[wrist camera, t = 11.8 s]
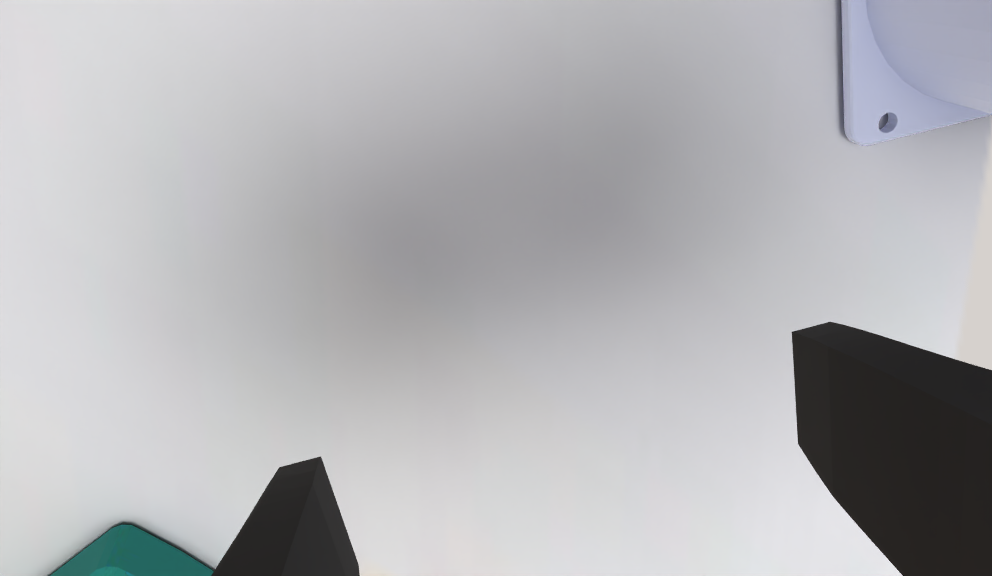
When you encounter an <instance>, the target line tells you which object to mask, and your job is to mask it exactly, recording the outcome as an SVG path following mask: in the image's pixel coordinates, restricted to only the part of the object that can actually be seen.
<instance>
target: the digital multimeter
mask: <svg viewBox="0 0 992 576" xmlns="http://www.w3.org/2000/svg"><path fill="white" fill-rule="evenodd" d="M213 572H214V571H212V570H211V569H209V568H208V567H206V566H205V565H203V564H201V563H200V562H198V561H197V560H195V559H193V558H192V557H190V556H189V555H187V554H185V553H184V552H182V551H181V550H179V549H177V548H175V547H173V546H171V545H169V544H167V543H165V542H164V541H162V540H160V539H158V538H156V537H154V536H152V535H150V534H148V533H146V532H145V531H143V530H141V529H139V528H137V527H135V526H133V525H119V526H116V527H114V528H112V529H110V530H109V531H108V532H106V533H105V534H104V535H102V536H101V537H100V538H99V539H97V540H96V541H95V542H93V543H92V544H91V545H89V546H88V547H87V548H85V549H84V550H83V551H82V552H80V553H79V554H78V555H76V556H75V557H74V558H72V559H71V560H70V561H69V562H67V563H66V564H65V565H63V566H62V567H61V568H59V569H58V570H57V571H55V572H54V573H53V574H52V575H50V576H211V575H212V573H213Z"/></svg>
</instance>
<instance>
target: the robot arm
mask: <svg viewBox="0 0 992 576" xmlns="http://www.w3.org/2000/svg"><path fill="white" fill-rule="evenodd" d="M841 4H842V47H843V89H844V129H845V134H846V136H847V138H848V139H849V140H850V141H852V142H854V143H856V144H859V145H862V146H869V145H873V144H877V143H881V142H885V141H889V140H893V139H897V138H901V137H905V136H909V135H913V134H917V133H921V132H925V131H929V130H933V129H937V128H942V127H946V126H950V125H954V124H958V123H962V122H966V121H970V120H974V119H978V118H982V117H986V116H990V115H992V0H841ZM886 113H887V114H888V117H889V118H888V122H887V124H886V125H885V126H884V127H883V128H881V129H879V126H878V125H879V120H880V119H881V117H882V116H883V115H884V114H886ZM792 343H793V360H794V378H795V396H796V414H797V432H798V444H799V446H800V447H801V449H802V451H803V452H804V454H805V455H806V457H807V458H808V460H809V461H810V463H811V465H812V466H813V468H814V469H815V471H816V472H817V474H818V475H819V477H820V478H821V480H822V481H823V483H824V484H825V485H826V487H827V488H828V490H829V491H830V493H831V494H832V496H833V497H834V498H835V499H836V501H837V502H838V503H839V504H840V505H841V506H842V508H843V509H844V510H845V511H846V512H847V513H848V514H849V516H850V517H851V518H852V519H853V520H854V521H855V522H856V524H857V525H858V526H859V527H860V528H861V529H862V530H863V532H864V533H865V534H866V535H867V536H868V537H869V538H870V539H871V541H872V542H873V543H874V544H875V545H876V546H877V547H878V548H879V550H880V551H881V552H882V553H883V554H884V555H885V556H886V557H887V558H888V560H889V561H890V562H891V563H892V564H893V565H894V566H895V567H896V569H897V570H898V571H899V572H900V573H901V574H902V575H903V576H992V370H989V369H985V368H982V367H978V366H975V365H972V364H968V363H965V362H962V361H958V360H955V359H952V358H949V357H946V356H942V355H939V354H936V353H933V352H930V351H927V350H923V349H920V348H917V347H914V346H911V345H908V344H905V343H902V342H899V341H895V340H892V339H889V338H886V337H883V336H880V335H877V334H873V333H870V332H867V331H863V330H860V329H857V328H853V327H849V326H846V325H842V324H837V323H833V322H828V323H824V324H820V325H817V326H813V327H809V328H805V329H801V330H798V331H794V332H792ZM211 576H360V575H359V566H358V562H357V559H356V556H355V553H354V551H353V548H352V545H351V542H350V539H349V536H348V533H347V530H346V528H345V525H344V522H343V519H342V516H341V513H340V510H339V507H338V505H337V502H336V499H335V496H334V493H333V490H332V487H331V484H330V481H329V479H328V476H327V473H326V470H325V467H324V464H323V461H322V458H321V457H317V458H313V459H310V460H306V461H302V462H298V463H294V464H291V465H287V466H283V467H279V469H278V470H277V472H276V473H275V475H274V477H273V478H272V480H271V481H270V483H269V484H268V486H267V487H266V489H265V491H264V492H263V494H262V496H261V497H260V499H259V501H258V502H257V504H256V506H255V507H254V509H253V511H252V512H251V514H250V516H249V517H248V519H247V520H246V522H245V524H244V525H243V527H242V529H241V530H240V532H239V533H238V535H237V537H236V538H235V540H234V541H233V543H232V544H231V546H230V547H229V549H228V550H227V552H226V554H225V555H224V557H223V558H222V560H221V561H220V563H219V564H218V566H217V568H216V569H215V571H214V572H213V573H212V575H211Z"/></svg>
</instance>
